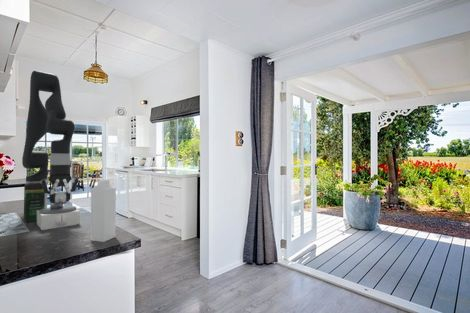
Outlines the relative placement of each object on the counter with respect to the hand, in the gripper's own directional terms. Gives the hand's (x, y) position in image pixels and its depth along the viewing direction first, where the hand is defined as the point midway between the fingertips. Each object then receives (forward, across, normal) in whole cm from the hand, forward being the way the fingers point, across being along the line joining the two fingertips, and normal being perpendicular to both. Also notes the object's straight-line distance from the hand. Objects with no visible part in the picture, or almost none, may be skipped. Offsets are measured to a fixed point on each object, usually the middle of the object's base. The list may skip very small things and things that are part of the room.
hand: (60, 201), depth 115 cm
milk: (+11, -8, +32) cm, 35 cm away
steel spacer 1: (+1, 0, 0) cm, 1 cm away
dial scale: (+10, 0, -4) cm, 11 cm away
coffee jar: (+11, +7, -19) cm, 23 cm away
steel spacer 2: (+4, 0, -7) cm, 8 cm away
